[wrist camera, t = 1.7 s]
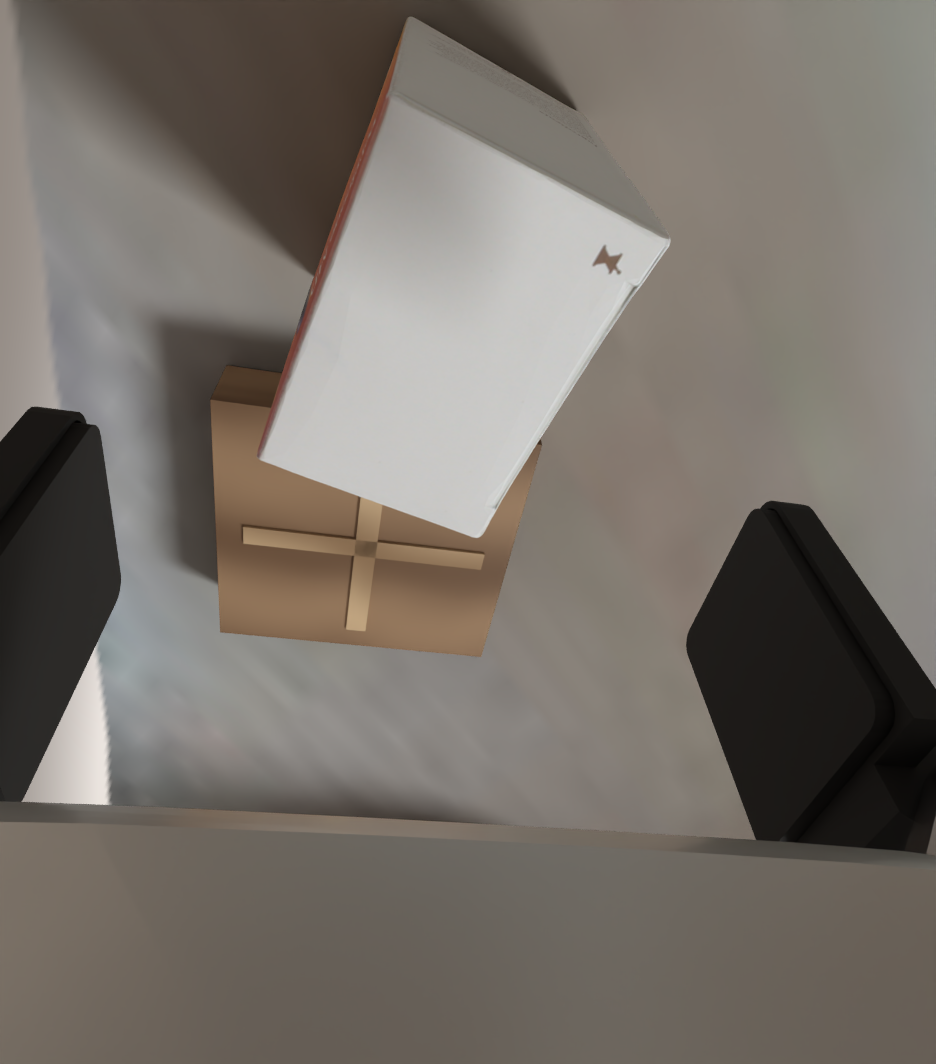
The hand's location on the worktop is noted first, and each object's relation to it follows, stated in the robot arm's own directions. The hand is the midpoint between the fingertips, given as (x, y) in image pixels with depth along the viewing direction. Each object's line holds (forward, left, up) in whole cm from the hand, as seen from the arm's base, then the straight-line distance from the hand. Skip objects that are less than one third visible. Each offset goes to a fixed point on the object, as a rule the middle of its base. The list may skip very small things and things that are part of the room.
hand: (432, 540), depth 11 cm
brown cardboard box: (+12, -1, -15) cm, 19 cm away
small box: (0, 0, -16) cm, 16 cm away
